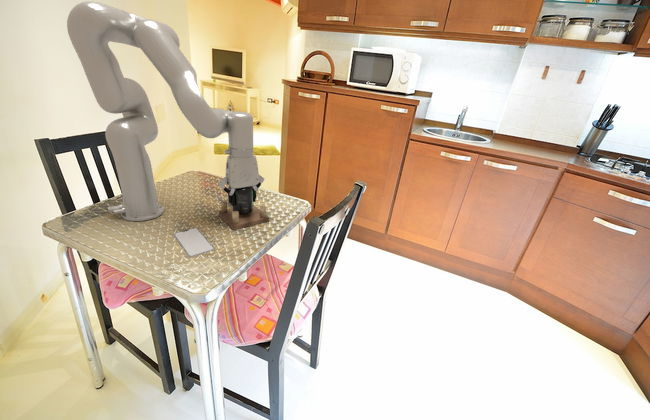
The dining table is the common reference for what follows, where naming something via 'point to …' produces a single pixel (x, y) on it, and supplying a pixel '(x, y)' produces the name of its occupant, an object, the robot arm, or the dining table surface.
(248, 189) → the supplement bottle
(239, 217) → the board
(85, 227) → the dining table surface
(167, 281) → the dining table surface
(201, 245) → the smartphone
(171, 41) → the robot arm
